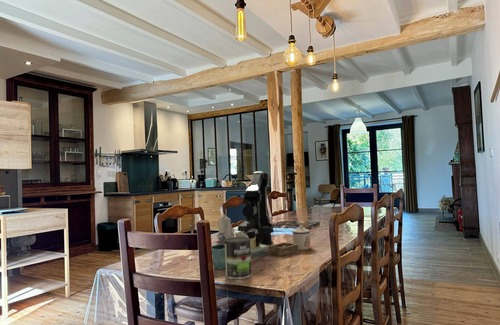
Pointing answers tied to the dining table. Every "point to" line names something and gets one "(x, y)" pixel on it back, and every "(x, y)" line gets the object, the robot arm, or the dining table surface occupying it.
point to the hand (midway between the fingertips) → (255, 246)
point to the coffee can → (238, 258)
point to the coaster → (259, 254)
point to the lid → (256, 249)
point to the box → (283, 249)
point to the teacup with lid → (301, 238)
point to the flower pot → (219, 256)
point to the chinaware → (227, 229)
